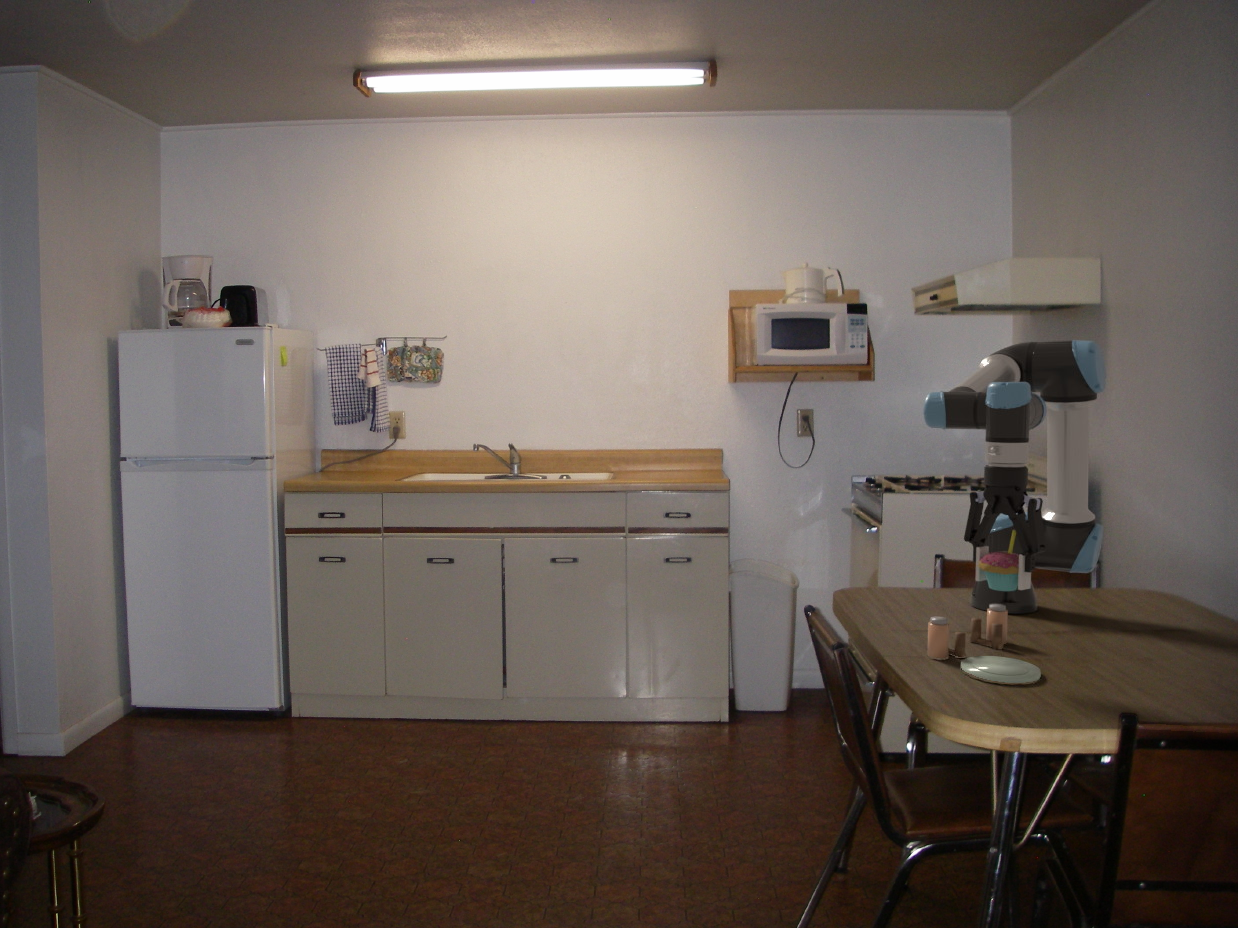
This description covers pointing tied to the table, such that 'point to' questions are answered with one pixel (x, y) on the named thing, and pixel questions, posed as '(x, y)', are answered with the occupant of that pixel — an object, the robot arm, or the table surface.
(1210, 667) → the table surface
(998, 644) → the rack
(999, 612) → the shaker
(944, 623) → the shaker
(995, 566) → the cupcake
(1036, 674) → the plate
